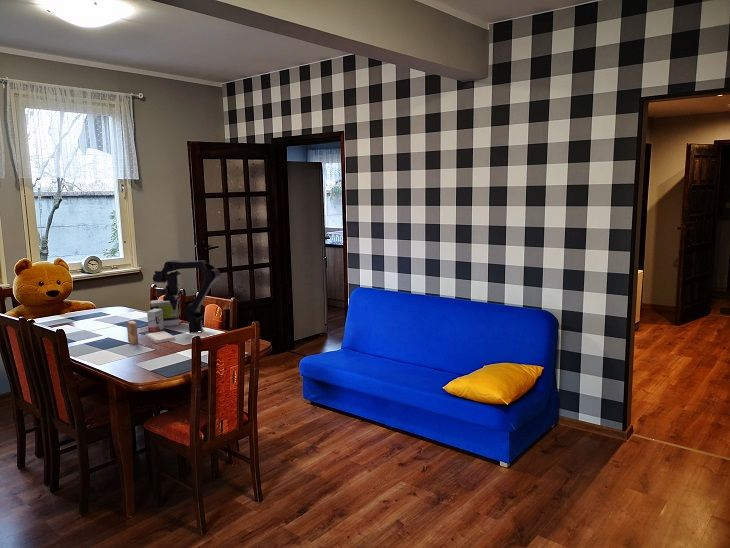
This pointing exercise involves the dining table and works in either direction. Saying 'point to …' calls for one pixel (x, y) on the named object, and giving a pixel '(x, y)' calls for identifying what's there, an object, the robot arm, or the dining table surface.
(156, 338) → the plate
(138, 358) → the dining table surface
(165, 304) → the tea box
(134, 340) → the stub
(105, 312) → the dining table surface
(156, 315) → the ink box
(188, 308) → the robot arm
